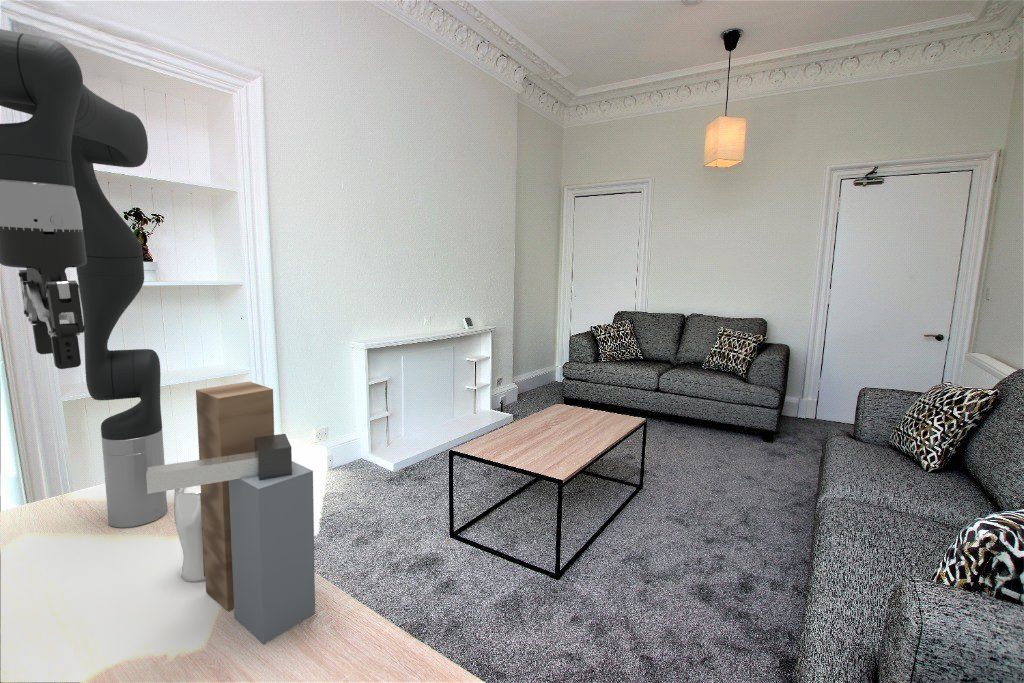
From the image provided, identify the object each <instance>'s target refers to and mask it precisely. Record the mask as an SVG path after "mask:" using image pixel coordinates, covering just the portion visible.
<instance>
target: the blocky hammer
mask: <svg viewBox="0 0 1024 683" xmlns="http://www.w3.org/2000/svg"><path fill="white" fill-rule="evenodd" d="M254 443H255V452H251V453H244V454H237V455H230V456H223V457H216V458H209V459H202V460H199V459H196V460H189V461H182V462H176V463H175V462H174V463H170V464H169V463H168V464H167V463H166V464H165V465H160V466H153V467H148V470H147V473H146V480H147V494H150V493H156V492H162V491H166V492H167V491H172V490H173V491H175V490H174V489H180V488H186V487H192V486H198V485H204V484H210V483H216V482H222V481H228V480H234V479H240V478H246V477H252V476H258V478H259V480H265V479H271V478H277V477H282V476H288V475H292V461H293V460H292V459H293V458H292V445H291V442H290V441H289V439H288V437H287V434H286V433H279V434H274V435H271V436H263V437H255V438H254Z"/></svg>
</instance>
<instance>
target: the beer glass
mask: <svg viewBox="0 0 1024 683" xmlns="http://www.w3.org/2000/svg"><path fill="white" fill-rule="evenodd" d="M173 491H174V498H173V508H174V509H173V513H174V514H173V516H174V523H175V528H176V532H177V535H178V539H179V542H180V546H181V550H182V559H183V560H182V567H181V573H180V577H181V578H182V580H184V581H185V582H190V583H198V582H202V581H204V582H205V563H204V543H203V524H202V504H201V485H198V486H192V487H186V488H180V489H174V490H173Z"/></svg>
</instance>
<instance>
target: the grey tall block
mask: <svg viewBox="0 0 1024 683" xmlns="http://www.w3.org/2000/svg"><path fill="white" fill-rule="evenodd" d="M229 498H230V522H231V546H232V570H233V594H234V609H233V613H234V614H233V615H234V619H235V620H236V621H237V622H238V623H239V624H240V625H242V626H243V627H244V628H245V629H246V630H247V631H248V632H249V633H250V634H251V635H253V637H255V638H256V639H257V640H258V641H259V642H260V643H261V644H263V645H265V644H267V643H269V642H270V641H272V640H273V639H275V638H277V637H278V636H280V635H282V634H283V633H285V632H286V631H288V630H290V629H291V628H293V627H295V626H296V625H298V624H300V623H302V622H303V621H305V620H306V619H309V618H310V617H311V616H313V615H315V614H316V591H315V590H316V589H315V588H316V586H315V585H316V583H315V582H316V581H315V580H316V577H315V572H316V570H315V525H314V524H315V521H314V520H315V519H314V518H315V517H314V514H315V512H314V470H312V469H310V468H308V467H305V466H304V465H302V464H299V463H297V462H294V461H293V460H292V475H288V476H282V477H277V478H271V479H265V480H259V478H258V476H252V477H246V478H240V479H234V480H229Z"/></svg>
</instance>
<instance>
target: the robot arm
mask: <svg viewBox="0 0 1024 683" xmlns="http://www.w3.org/2000/svg"><path fill="white" fill-rule="evenodd" d="M0 107H3V108H7V109H10V110H14V111H17V112H21V113H24V114H28V115H31V117H30V118H29V119H28V120H27V119H26V120H24V121H21V122H8V123H0V265H2V266H4V267H9V268H18V269H19V268H20V269H19V270H18V271H19V272H18V273H17V274H18V277H19V279H20V280H19V281H20V288H21V294H22V302H23V307H24V308H23V309H24V310H23V314H24V315H25V317H26V318H27V321H28V322H29V324H30V325H32V332H33V340H34V346H35V351H36V352H37V353H38V354H40V355H49V354H52V357H53V364H54V366H55V367H56V368H57V369H58V370H65V369H71V368H72V369H74V368H79V367H80V366H81V365H82V361H81V360H82V359H81V352H80V347H79V346H80V344H79V337H78V336H80V334H84V335H83V337H84V365H85V366H84V368H85V369H84V370H85V372H84V373H85V381H86V382H85V383H86V388H87V391H88V394H89V396H90V397H91V398H92V399H93V400H95V401H113V400H124V399H127V400H128V399H136V398H138V399H140V401H139V402H137V404H135V405H133V406H132V407H130V408H129V409H126V410H124V411H122V412H118V413H116V414H114V415H112V416H108V417H107V418H105V419H104V420H103V421H102V423H101V424H100V433H101V434H100V436H101V445H102V447H101V448H102V459H103V469H104V471H103V472H104V481H105V482H104V483H105V494H106V495H105V496H106V497H105V498H106V508H107V510H106V511H107V520H108V525H110V526H111V527H114V528H131V527H132V528H133V527H137V526H142V525H146V524H149V523H151V522H153V521H156V520H159V519H160V518H161V517H163V516H164V515H165V514H166V513H167V512H168V500H167V491H162V492H156V493H150V494H147V480H146V473H147V470H148V467H153V466H160V465H166V464H165V451H164V448H165V446H164V435H163V421H162V409H161V362H160V358H159V355H158V352H156V351H155V350H154V349H152V348H150V349H149V348H141V349H135V348H134V349H114V350H109V349H108V343H109V339H110V336H111V334H112V332H113V330H114V329H115V326H116V324H117V323H118V321H119V320H120V318H121V317H122V315H123V314H124V312H125V311H126V310H127V309H128V307H129V306H130V305H131V303H132V302H133V301H134V300H135V299H136V297H137V296H138V294H139V293H140V291H141V289H142V287H143V285H144V283H145V268H144V267H145V266H144V256H143V254H144V253H143V252H144V251H143V247H142V243H141V241H140V240H139V238H138V237H137V235H136V233H134V231H133V230H132V228H130V226H129V225H128V223H127V222H126V221H125V220H124V218H122V217H121V214H119V212H117V210H116V209H115V208H114V207H113V205H112V204H111V203H110V201H109V200H108V198H107V197H106V195H105V193H104V192H103V190H102V187H101V186H100V184H99V181H98V179H97V175H96V173H95V169H94V164H95V165H96V164H97V165H102V166H103V165H104V166H111V167H118V168H139V167H141V166H142V165H143V164H144V163H145V162H146V160H147V158H148V152H149V151H148V150H149V144H148V135H147V131H146V127H145V125H144V123H143V121H142V120H141V119H140V118H139V116H137V115H136V114H135V113H134V112H131V111H128V110H125V109H123V108H121V107H119V106H117V105H115V104H113V103H112V102H109V101H107V100H106V99H104V98H102V97H101V96H99V95H98V94H96V93H95V92H94V91H92V90H90V89H89V88H88V87H87V86H86V85H85V84H84V78H83V72H82V69H81V66H80V64H79V62H78V60H77V59H76V57H75V56H74V54H73V53H72V51H71V50H69V49H68V48H67V47H66V46H65V45H64V44H62V43H61V42H60V41H57V40H55V39H52V38H49V37H46V36H41V35H35V34H29V33H24V32H18V31H13V30H7V29H2V28H0ZM68 268H75V269H76V274H77V275H76V276H77V280H68V277H67V276H68V275H67V273H66V270H67V269H68ZM63 320H66V321H68V322H67V323H61V322H60V321H63Z"/></svg>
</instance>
